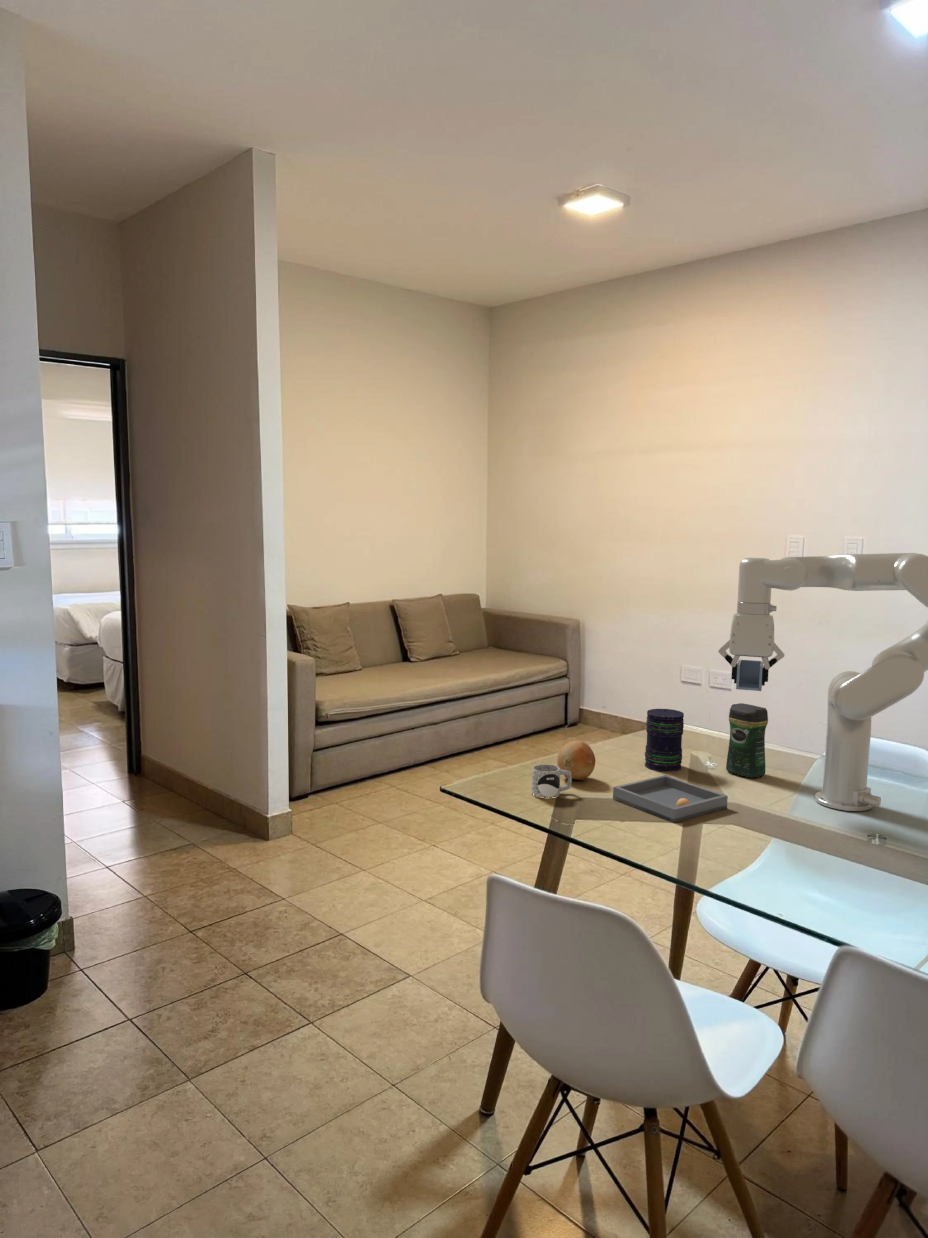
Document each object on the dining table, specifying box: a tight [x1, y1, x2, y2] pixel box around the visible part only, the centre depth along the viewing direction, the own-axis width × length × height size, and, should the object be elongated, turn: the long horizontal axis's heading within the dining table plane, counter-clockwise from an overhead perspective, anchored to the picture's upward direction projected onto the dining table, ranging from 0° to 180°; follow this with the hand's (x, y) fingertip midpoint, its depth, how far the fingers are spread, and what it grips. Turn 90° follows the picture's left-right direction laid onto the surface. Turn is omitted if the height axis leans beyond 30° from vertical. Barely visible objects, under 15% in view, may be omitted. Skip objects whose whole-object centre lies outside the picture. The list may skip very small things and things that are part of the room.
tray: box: [612, 774, 729, 824], centre depth 205 cm, size 19×18×3 cm
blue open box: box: [735, 658, 764, 692], centre depth 211 cm, size 8×6×6 cm
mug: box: [531, 763, 573, 798], centre depth 210 cm, size 10×7×7 cm
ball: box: [677, 798, 690, 807], centre depth 197 cm, size 3×3×3 cm
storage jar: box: [644, 708, 685, 773], centre depth 234 cm, size 10×10×15 cm
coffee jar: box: [725, 702, 769, 778], centre depth 229 cm, size 10×8×19 cm
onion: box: [556, 739, 596, 781], centre depth 222 cm, size 10×10×10 cm
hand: (749, 682), depth 211 cm, fingers closed on blue open box, 5 cm apart
